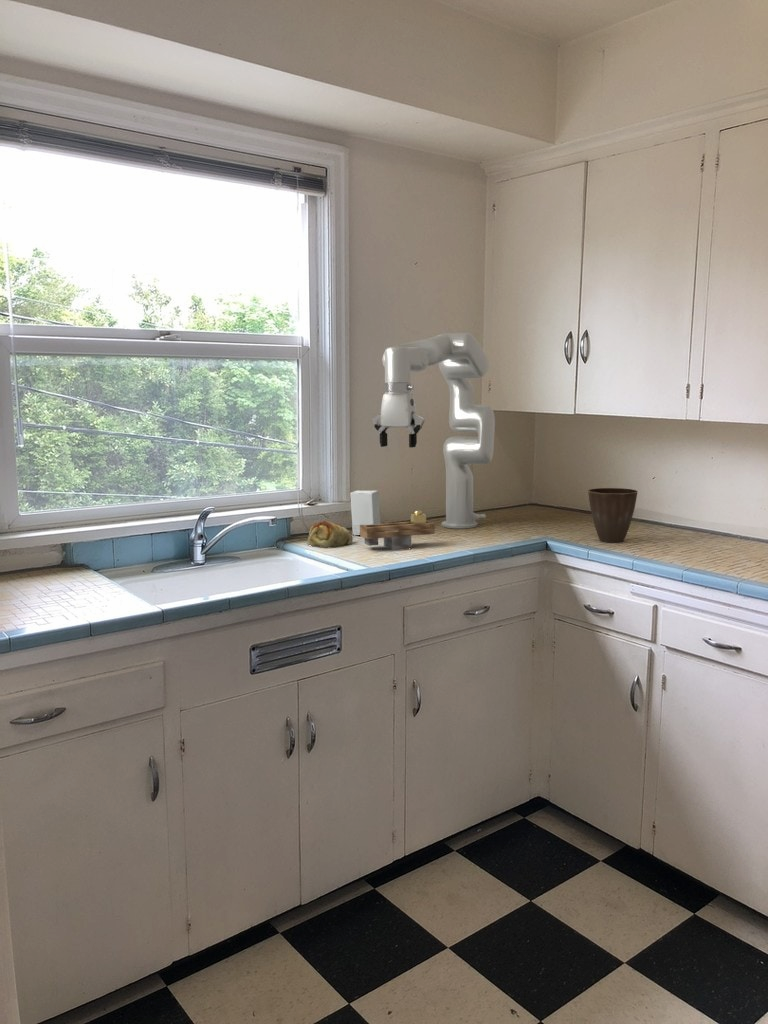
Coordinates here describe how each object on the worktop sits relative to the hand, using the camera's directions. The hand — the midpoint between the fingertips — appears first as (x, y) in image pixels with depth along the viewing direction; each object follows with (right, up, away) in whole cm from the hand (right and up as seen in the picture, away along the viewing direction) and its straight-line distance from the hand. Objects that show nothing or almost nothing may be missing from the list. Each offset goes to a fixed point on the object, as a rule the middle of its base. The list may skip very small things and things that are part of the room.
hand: (398, 446), depth 244 cm
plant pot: (+68, -29, +13) cm, 75 cm away
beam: (0, -30, +7) cm, 31 cm away
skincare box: (-10, -27, +28) cm, 41 cm away
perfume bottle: (+6, -24, +8) cm, 26 cm away
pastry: (-21, -30, +13) cm, 39 cm away
